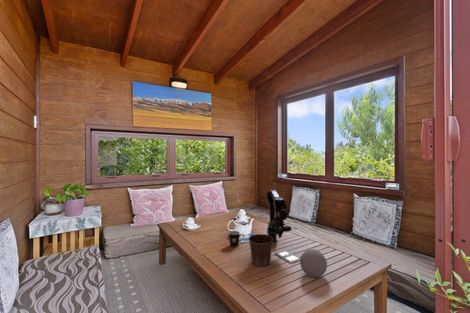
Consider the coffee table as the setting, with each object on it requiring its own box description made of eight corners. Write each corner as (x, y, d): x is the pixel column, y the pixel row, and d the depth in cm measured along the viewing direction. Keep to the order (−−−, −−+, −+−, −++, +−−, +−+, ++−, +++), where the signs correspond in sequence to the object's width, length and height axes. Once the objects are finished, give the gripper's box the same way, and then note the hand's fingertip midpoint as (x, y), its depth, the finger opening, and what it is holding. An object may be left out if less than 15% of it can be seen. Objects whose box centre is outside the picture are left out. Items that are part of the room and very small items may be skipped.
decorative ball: (295, 275, 135) (295, 250, 135) (307, 266, 145) (307, 243, 145) (320, 286, 124) (319, 258, 124) (331, 275, 135) (331, 250, 135)
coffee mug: (226, 246, 179) (226, 233, 179) (232, 242, 187) (231, 230, 187) (240, 249, 174) (239, 235, 174) (245, 244, 181) (244, 232, 181)
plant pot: (272, 270, 142) (271, 244, 142) (246, 267, 146) (246, 242, 146) (274, 258, 158) (274, 235, 157) (251, 256, 162) (251, 233, 161)
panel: (285, 251, 169) (285, 250, 169) (301, 259, 155) (301, 258, 155) (274, 254, 164) (274, 253, 164) (290, 263, 150) (290, 262, 150)
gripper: (262, 215, 170) (263, 236, 170) (279, 220, 153) (279, 244, 153) (274, 213, 175) (275, 233, 175) (291, 218, 159) (292, 241, 159)
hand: (279, 237), depth 165 cm, fingers closed
